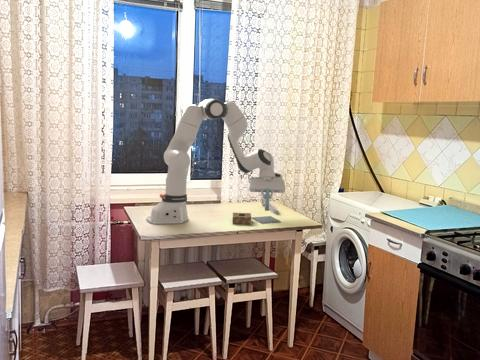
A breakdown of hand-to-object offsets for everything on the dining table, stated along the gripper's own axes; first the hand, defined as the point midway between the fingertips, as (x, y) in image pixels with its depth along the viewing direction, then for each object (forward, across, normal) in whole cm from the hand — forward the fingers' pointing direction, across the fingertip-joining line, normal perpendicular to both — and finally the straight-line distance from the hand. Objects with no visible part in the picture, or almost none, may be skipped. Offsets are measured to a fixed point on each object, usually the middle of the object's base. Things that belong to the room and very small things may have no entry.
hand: (267, 197), depth 258 cm
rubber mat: (+9, 0, +10) cm, 13 cm away
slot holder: (+13, -14, +5) cm, 20 cm away
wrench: (-11, +3, +30) cm, 32 cm away
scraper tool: (+5, 0, +6) cm, 7 cm away
